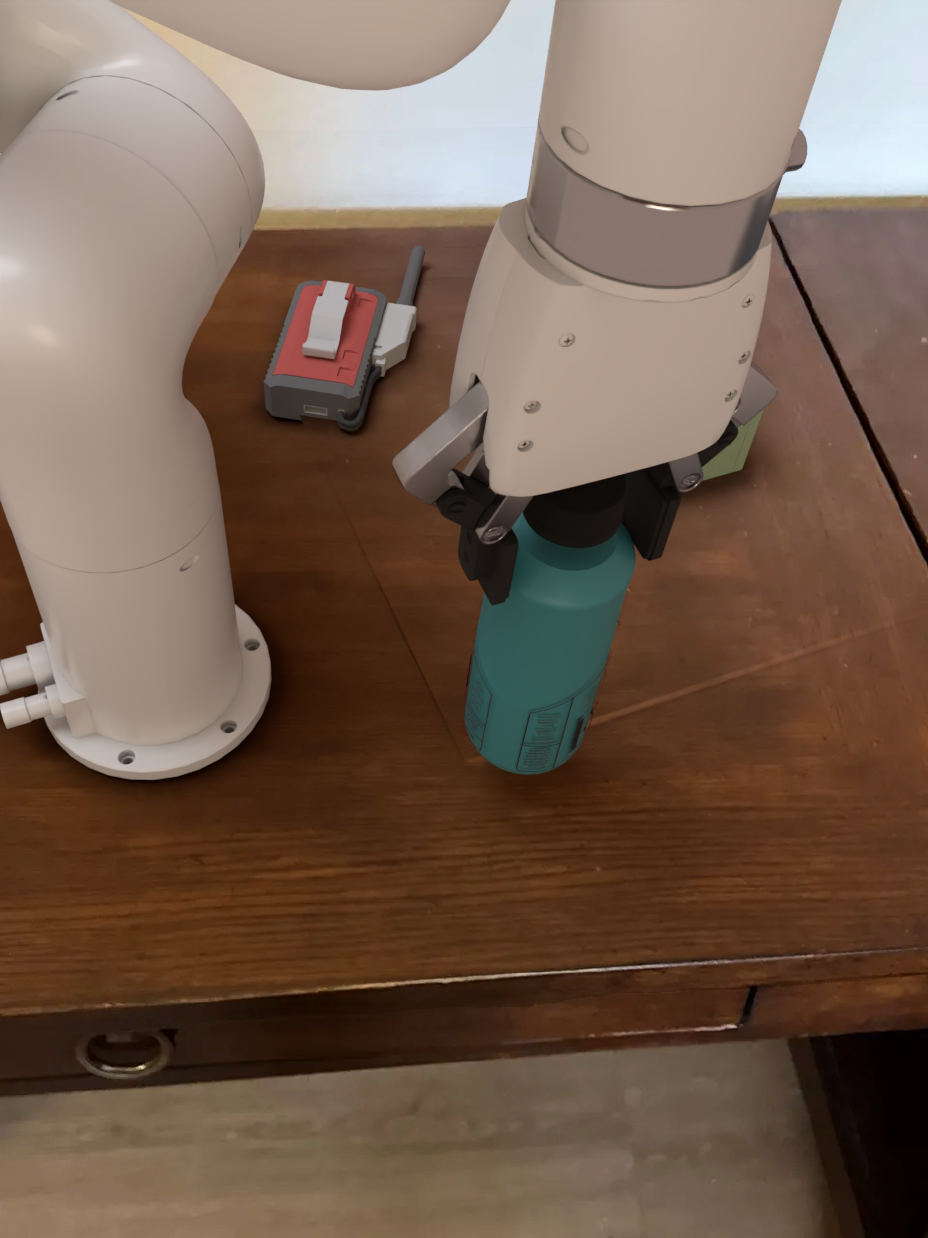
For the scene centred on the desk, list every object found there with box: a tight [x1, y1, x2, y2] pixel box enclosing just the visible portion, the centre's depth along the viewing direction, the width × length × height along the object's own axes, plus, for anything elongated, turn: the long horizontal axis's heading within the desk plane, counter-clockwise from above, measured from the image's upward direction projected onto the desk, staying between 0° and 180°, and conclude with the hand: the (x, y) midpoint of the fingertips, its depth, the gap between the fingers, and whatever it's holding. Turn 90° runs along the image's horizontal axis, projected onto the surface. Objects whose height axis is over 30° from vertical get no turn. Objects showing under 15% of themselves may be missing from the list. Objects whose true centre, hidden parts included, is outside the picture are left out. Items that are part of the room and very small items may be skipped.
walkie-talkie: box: [263, 245, 426, 432], centre depth 85 cm, size 9×4×20 cm
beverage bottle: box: [461, 474, 637, 776], centre depth 56 cm, size 6×7×20 cm
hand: (562, 554), depth 52 cm, fingers closed on beverage bottle, 6 cm apart
